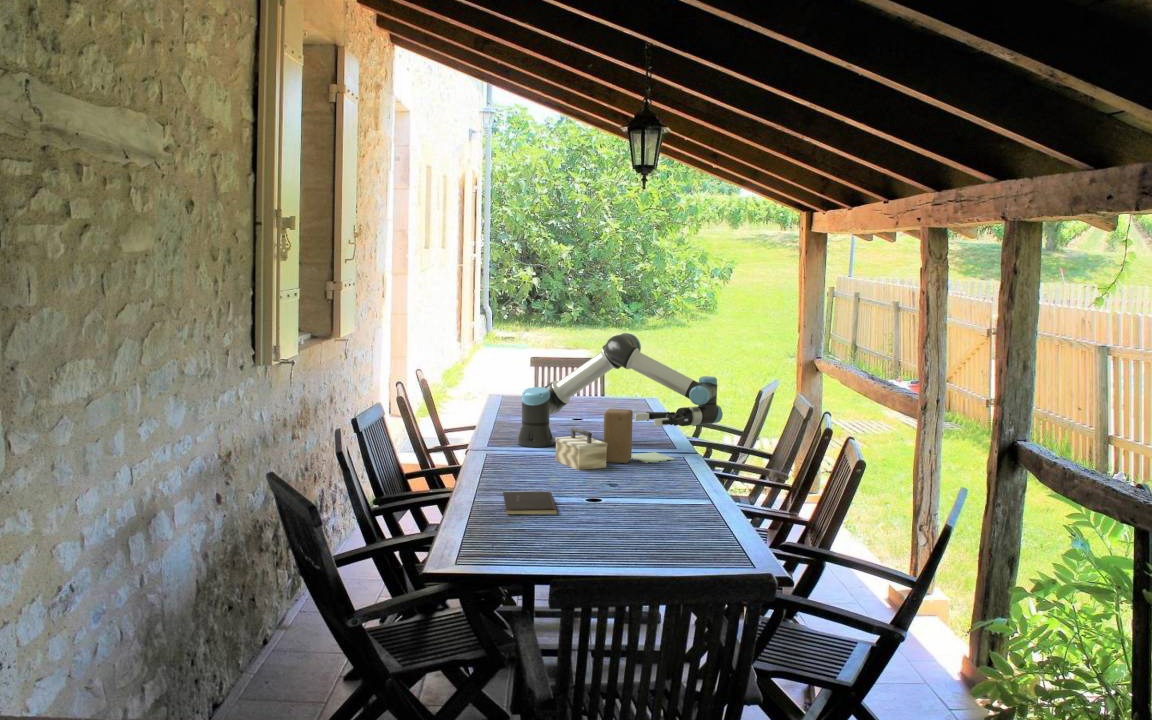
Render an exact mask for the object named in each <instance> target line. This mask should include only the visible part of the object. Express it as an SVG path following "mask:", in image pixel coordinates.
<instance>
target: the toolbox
mask: <svg viewBox="0 0 1152 720" xmlns="http://www.w3.org/2000/svg"><path fill="white" fill-rule="evenodd" d="M570 432H571V433H570V436H561V437H560V436H559V437H558V436H557V437H555V438H554V441H555V462H557V463H559V462H560V464H562V465H564V466H565V465H566V466H567V467H570V468H572V469H575V470H578V471H582V470H591V469H592V470H593V469H594V470H595V469H601V468H607V463H606V457H607V446H608V443H605V442H603V441H602V440H599V439H596V438H593V437H592V436H593V434H592V432H591V431H587V430H584V429H581V428H578V427H574V426H571V427H570ZM576 433H577V434H579V435H576ZM580 434H581V435H580Z"/></svg>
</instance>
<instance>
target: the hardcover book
mask: <svg viewBox="0 0 1152 720" xmlns="http://www.w3.org/2000/svg"><path fill="white" fill-rule="evenodd" d="M502 495H503V500H504V501H503V502H504V507H505V511H506V515H507V514H545V513H546V514H549V513H550V514H556V515H557V514H559V511H558V509H557V506H556V503H555V500H554V497H553V494H552V492H551V491H503V492H502Z"/></svg>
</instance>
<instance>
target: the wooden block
mask: <svg viewBox="0 0 1152 720" xmlns="http://www.w3.org/2000/svg"><path fill="white" fill-rule="evenodd" d="M633 413H634V412H633V410H632V409H630V408H629V409H627V408H608V409H607V410H606V411H604V413H603V436H602V437H603V439H602V440H603V441H602V442H605V443H608V446H607V457H606V462H607V463H609V464H621V463H624V464H625V465H626V464H628V463H629V462H630V460H632V458H631V454H632V451H633V450H632V447H633V416H634V415H633ZM607 463H606V464H607ZM624 464H623V465H624Z"/></svg>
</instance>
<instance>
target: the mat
mask: <svg viewBox="0 0 1152 720" xmlns="http://www.w3.org/2000/svg"><path fill="white" fill-rule="evenodd" d="M632 458H633V459H632ZM631 459H632V460H635V459H636V460H635V461H638V460H639V461H638V462H641V461H642V462H641V463H644V462H645V464H649V463H648V462H652V463H660V462H659V461H661V462H668V461H667V460H671V461H676V458H675V457H671V456H667V455H665V454H661V453H660V452H656V451H654V452H653V451H652V452H644V453H643V452H642V453H634V454H631Z"/></svg>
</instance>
